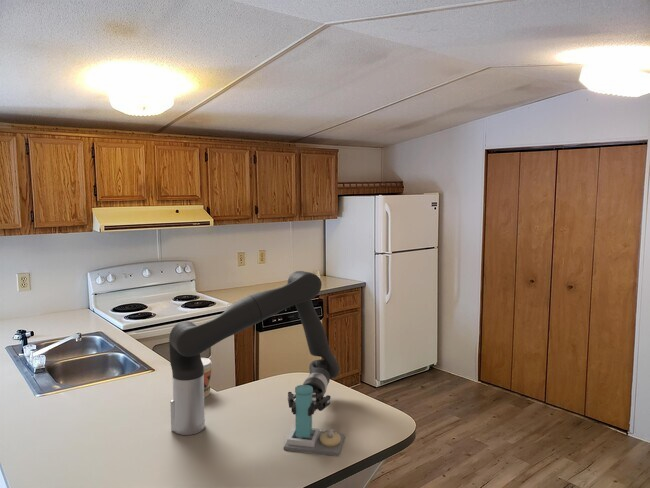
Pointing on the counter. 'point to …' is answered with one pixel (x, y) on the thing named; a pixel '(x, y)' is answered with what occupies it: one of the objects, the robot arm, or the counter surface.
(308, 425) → the lidded tumbler
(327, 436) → the housing
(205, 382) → the coffee cup
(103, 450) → the counter surface
